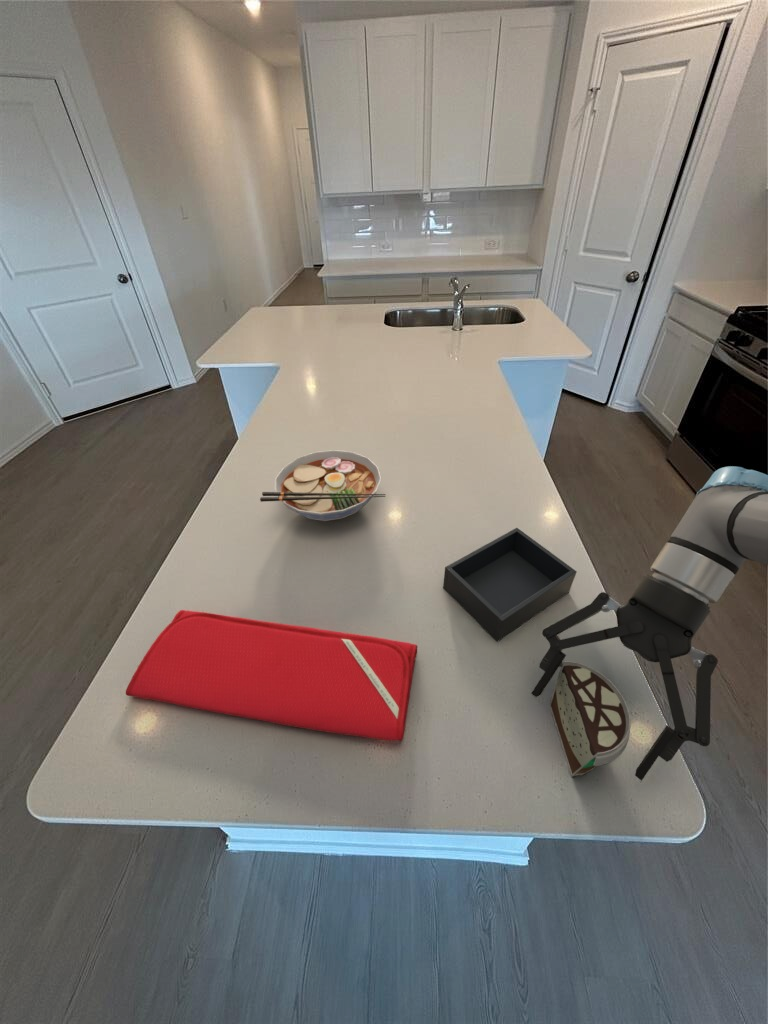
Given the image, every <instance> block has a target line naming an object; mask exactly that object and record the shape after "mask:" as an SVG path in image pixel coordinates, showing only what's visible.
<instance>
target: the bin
mask: <svg viewBox="0 0 768 1024" xmlns="http://www.w3.org/2000/svg"><path fill="white" fill-rule="evenodd" d="M576 575H577V570H575V569H574V568H573V567H572V566H570V565H569V564H567V563H566V562H564V561H563V560H562V559H561V558H559V557H558V556H556V555H555V554H554V553H553V552H551V551H550V550H548V549H547V548H546V547H544V546H543V545H541V544H540V543H539V542H538V541H536V540H535V539H533V538H532V537H530V535H527V533H525V532H524V531H522V530H521V529H519V528H518V527H515V528H514V529H512V530H510V531H508V532H506V533H504V534H503V535H500V536H499V537H497V538H495V539H493V540H491V541H490V542H488V543H486V544H484V545H483V546H481V547H479V548H477V549H475V550H473V551H472V552H470V553H468V554H466V555H465V556H462V557H461V558H459V559H458V560H456V561H453V562H452V563H450V564H448V565H447V566H445V567H444V575H443V576H444V577H443V584H442V585H443V586H442V588H443V590H444V591H446V593H448V594H449V596H451V597H452V598H453V600H454V601H456V603H457V604H458V605H459V606H460V607H461V608H462V609H463V610H464V611H466V613H468V614H469V615H470V617H472V619H473V620H475V622H477V623H478V625H479V626H480V627H481V628H483V629H484V631H485V632H486V633H487V634H488V635H490V636H491V638H492V639H494V641H496V642H499V641H500V640H502V639H503V638H505V637H506V636H508V635H509V634H510V633H512V632H514V631H515V630H516V629H518V628H519V627H521V626H522V625H524V624H525V623H527V622H528V621H530V620H531V619H532V618H534V617H535V616H537V615H538V614H540V613H541V612H543V611H544V610H546V609H547V608H549V607H550V606H552V605H553V604H555V603H556V602H558V601H559V600H561V599H562V598H563V597H565V596H566V595H568V594H569V593H570V590H571V588H572V586H573V582H574V580H575V578H576Z"/></svg>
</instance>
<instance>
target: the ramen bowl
mask: <svg viewBox="0 0 768 1024" xmlns="http://www.w3.org/2000/svg"><path fill="white" fill-rule="evenodd" d="M379 469H380V468H379V466H378V465H377V464H376V463H375V462H373V460H371V458H369V457H367V456H365V455H363V454H360V453H357V452H354V451H349V450H342V449H341V450H340V449H339V450H338V449H329V450H320V451H314V452H311V453H307V454H305V455H302V456H299V457H296V458H295V459H293V460H292V461H290V462H288V463H287V464H286V465H284V466H283V467H282V468H281V470H280V471H279V472H278V473H277V475H276V476H275V478H274V491H262V493H261V494H262V496H261V497H260V498H259V501H260V503H263V502H281V503H282V504H283V505H284V506H285V508H288V509H289V510H291V511H292V512H294V513H296V514H299V516H302V517H305V518H306V519H309V520H315V521H321V522H327V521H334V520H335V521H336V520H342V519H344V518H346V517H347V518H348V517H349V516H351V515H354V514H357V513H358V512H359V511H360V510H361V509H362V508H363V507H365V506H366V505H367V504H368V503H369V502H370V501H371V500H372V499H373V498H386V494H385V493H376V492H377V490H378V488H379V486H380V483H381V480H382V476H381V473H380V470H379Z"/></svg>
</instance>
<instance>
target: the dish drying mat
mask: <svg viewBox="0 0 768 1024" xmlns="http://www.w3.org/2000/svg"><path fill="white" fill-rule="evenodd" d="M417 655H418V644H414V643H410V642H407V641H399V640H393V639H387V638H381V637H376V636H370V635H363V634H362V635H361V634H356V633H348V632H342V631H333V630H327V629H321V628H315V627H309V626H301V625H293V624H285V623H278V622H272V621H271V622H270V621H264V620H257V619H252V618H245V617H238V616H230V615H224V614H217V613H212V612H211V613H210V612H204V611H203V612H202V611H193V610H184V609H181V610H179V611H178V612H177V613H176V614H175V615H174V618H173V619H172V620H171V622H170V623H169V624H167V626H166V627H165V628H164V629H163V630H162V631H161V632H160V633H159V634H158V636H157V638H156V639H155V640H154V641H153V643H152V644H151V646H150V647H149V649H148V650H147V652H146V653H145V654H144V656H143V658H142V660H141V661H140V663H139V665H137V668H136V670H135V672H134V674H133V675H132V677H131V679H130V681H129V683H128V685H127V687H126V689H125V696H127V697H134V698H137V699H145V700H150V701H151V700H152V701H158V702H164V703H167V704H172V705H177V706H181V707H185V708H192V709H196V710H201V711H207V712H212V713H217V714H224V715H229V716H235V717H240V718H245V719H251V720H257V721H263V722H269V723H274V724H278V725H282V726H283V725H284V726H287V727H288V726H289V727H296V728H301V729H306V730H307V729H308V730H313V731H319V732H326V733H333V734H338V735H346V736H355V737H359V738H360V737H361V738H368V739H373V740H383V741H398V742H402V741H403V740H404V735H405V731H406V724H407V723H406V722H407V717H408V710H409V704H410V695H411V688H412V682H413V675H414V669H415V662H416V658H417Z"/></svg>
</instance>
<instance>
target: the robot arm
mask: <svg viewBox="0 0 768 1024" xmlns="http://www.w3.org/2000/svg"><path fill="white" fill-rule="evenodd" d="M746 560H749V561H751V562H756V563H758V564H759V563H760V564H763V565H765V566H768V474H766V473H764V472H760V471H757V470H754V469H747V468H744V467H742V466H733V465H732V466H731V465H730V466H729V465H728V466H724V467H720V468H718V469H717V470H715V471H714V472H713V473H712V474H711V476H710V477H709V478H708V480H707V481H706V483H705V484H704V485H703V487H702V488H700V489H699V490H698V491H697V493H696V494H695V497H694V499H693V500H692V502H691V504H690V505H689V507H688V508H687V510H686V512H685V513H684V514H683V516H682V518H681V520H680V521H679V523H678V524H677V525H676V527H675V529H674V530H673V532H672V534H671V535H670V537H669V539H668V540H667V542H666V543H665V544H664V545H663V547H662V548H661V550H660V551H659V553H658V555H657V556H656V558H655V559H654V561H653V562H652V564H651V565H650V567H649V569H650V572H651V573H652V574H651V575H650V574H647V575H644V576H643V577H642V579H641V581H640V582H639V583H638V585H637V587H636V588H635V590H634V591H633V593H632V594H631V596H630V598H629V599H628V600H627V601H626V602H625V603H624V604H621V603H619V602H618V601H616V600H615V599H614V598H612V597H611V595H610V594H609V593H607V592H604V591H602V592H599V594H598V595H597V596H596V597H595V598H594V600H592V602H591V603H589V604H588V605H586V606H584V607H582V608H580V609H578V610H577V611H574V612H573V613H571V614H569V615H567V616H565V617H563V618H562V619H560V620H558V621H556V622H554V623H553V624H551V625H549V626H547V627H545V628H543V630H542V633H541V634H542V636H543V637H544V638H545V640H547V642H548V643H549V648H548V650H547V651H546V653H545V655H544V656H543V658H542V659H541V660H540V662H539V668H540V669H541V670H542V671H544V672H543V674H542V676H541V677H540V678H539V680H538V682H537V683H536V685H535V686H534V688H533V690H532V691H531V692H530V694H531V695H532V696H533V697H535V698H538V697H539V696H541V695H542V694H543V692H544V691H545V689H546V688H547V686H548V684H549V683H550V682H551V680H552V678H554V675H555V674H556V672H557V670H558V669H559V668H560V667H559V665H560V664H561V662H564V661H565V658H566V657H567V654H566V653H564V652H562V651H563V650H566V649H571V648H574V647H575V648H576V647H580V646H583V645H589V644H592V643H598V642H602V641H607V640H612V639H617V638H619V641H620V642H621V644H622V645H623V646H624V647H625V648H627V649H628V650H631V651H634V652H636V653H637V654H638V655H640V657H642V658H643V659H644V660H646V661H647V662H650V663H659V666H660V671H661V675H662V680H663V684H664V689H665V692H666V696H667V701H668V706H669V710H670V714H671V718H672V721H673V722H672V723H673V727H674V729H673V728H672V727H670V726H669V725H665V726H664V728H663V729H662V731H661V732H660V734H659V735H658V737H657V738H656V740H655V741H654V742H653V744H652V746H651V747H650V749H649V750H648V752H647V753H646V754H645V755H644V757H643V759H642V760H641V761H640V763H639V765H637V767H636V769H635V773H634V776H635V778H637V779H638V780H640V781H641V782H642V781H643V779H644V778H645V777H646V775H647V774H648V773H649V771H650V769H651V768H652V767H653V765H654V763H655V762H656V761H657V760H658V758H661V759H662V760H664V761H665V762H666V763H668V762H670V761H672V760H673V758H674V757H675V755H676V754H677V752H678V751H679V750H680V748H681V747H682V745H683V744H684V743H685V742H692V743H695V744H698V745H699V746H701V747H708V746H709V745H710V743H711V698H712V697H711V696H712V695H711V692H712V691H711V689H712V688H711V687H712V675H713V674H714V671H715V669H716V667H717V665H718V662H719V660H718V658H717V656H715V655H714V654H713V653H709V652H708V653H707V652H705V651H702V650H700V649H698V648H697V647H694V646H692V641H693V638H694V636H695V635H696V633H697V632H698V631H699V629H700V627H701V626H702V625H703V623H704V622H705V620H706V618H708V616H709V614H710V613H711V610H710V608H711V607H710V606H709V603H711V604H715V603H717V602H718V601H719V600H720V598H721V597H722V595H723V594H724V592H725V591H726V589H727V588H728V587H729V585H730V584H731V582H732V580H733V579H734V578H735V576H736V575H737V573H738V572H739V570H740V568H741V567H742V565H743V564H744V563H745V561H746ZM610 611H615V614H616V623H617V626H613V627H609V628H604V629H601V630H597V631H592V632H588V633H584V634H580V635H575V636H571V637H566V638H562V639H561V638H560V637H559V636H558V635H560V634H561V633H564V632H565V631H567V630H569V629H572V627H575V626H576V625H578V624H580V623H582V622H584V621H586V620H588V619H590V618H592V617H594V616H596V615H597V614H598V613H600V612H603V613H609V612H610ZM686 655H689V656H690V657H691V664H692V666H693V667H694V668H695V669H696V677H695V724H694V725H695V726H694V727H691V726H688V724H687V719H686V716H685V711H684V708H683V703H682V699H681V695H680V692H679V687H678V683H677V679H676V674H675V670H674V667H673V663H672V659H676V658H680V657H683V656H686Z"/></svg>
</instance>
